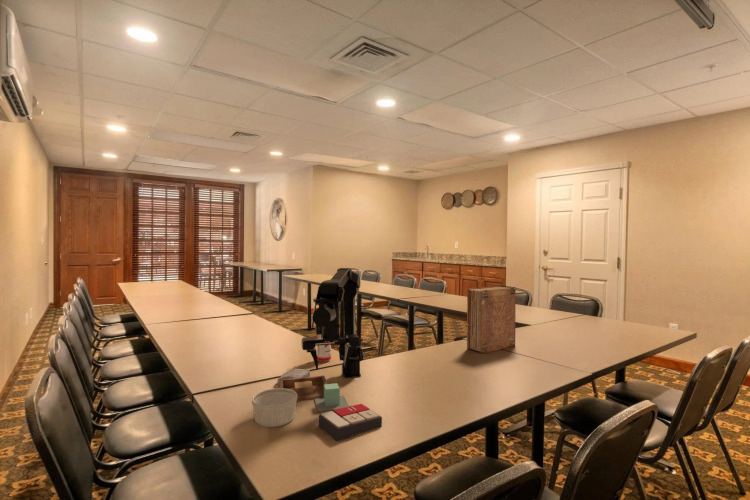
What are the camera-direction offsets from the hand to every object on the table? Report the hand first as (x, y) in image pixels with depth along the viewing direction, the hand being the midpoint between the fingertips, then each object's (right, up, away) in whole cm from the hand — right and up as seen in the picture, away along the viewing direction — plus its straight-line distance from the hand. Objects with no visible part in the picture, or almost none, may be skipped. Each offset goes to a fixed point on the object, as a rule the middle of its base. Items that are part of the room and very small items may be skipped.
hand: (331, 368), depth 127 cm
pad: (0, -12, 0) cm, 12 cm away
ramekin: (-16, -13, -10) cm, 23 cm away
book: (+73, -11, +68) cm, 100 cm away
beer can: (-9, -11, +48) cm, 50 cm away
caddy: (-11, -12, +10) cm, 19 cm away
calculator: (+7, -13, -15) cm, 21 cm away
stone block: (-17, -12, +21) cm, 30 cm away
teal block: (0, -12, 0) cm, 12 cm away
